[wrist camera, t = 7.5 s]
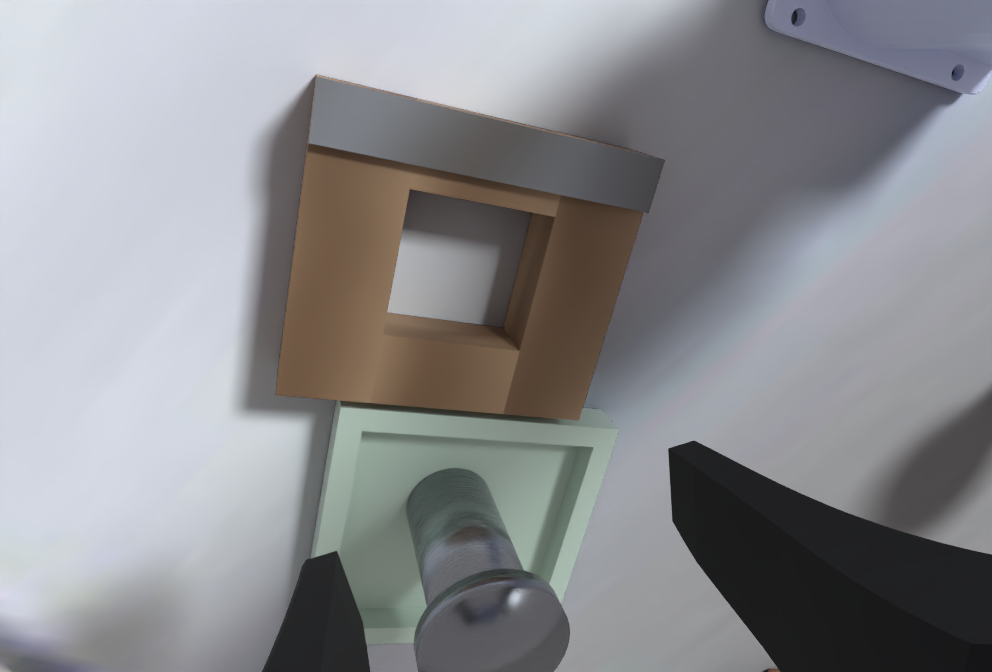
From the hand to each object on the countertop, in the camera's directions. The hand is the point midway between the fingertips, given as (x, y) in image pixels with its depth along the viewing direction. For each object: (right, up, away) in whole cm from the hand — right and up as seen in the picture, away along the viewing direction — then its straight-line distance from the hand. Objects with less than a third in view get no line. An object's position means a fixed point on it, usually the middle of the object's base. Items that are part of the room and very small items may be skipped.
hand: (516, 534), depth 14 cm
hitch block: (-2, +7, +8) cm, 10 cm away
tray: (-2, -3, +12) cm, 12 cm away
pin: (-2, -2, +11) cm, 11 cm away
